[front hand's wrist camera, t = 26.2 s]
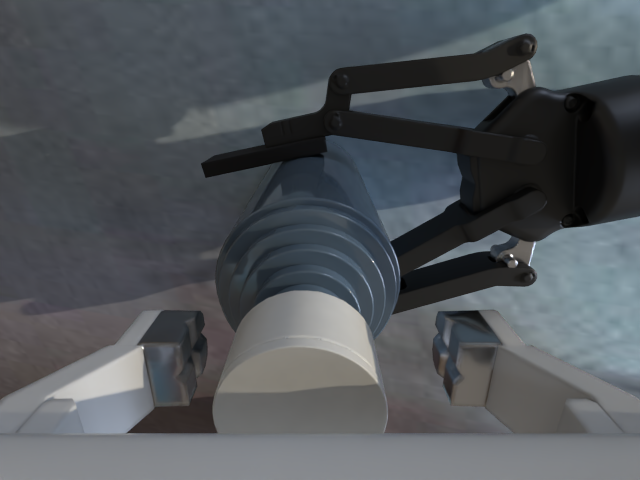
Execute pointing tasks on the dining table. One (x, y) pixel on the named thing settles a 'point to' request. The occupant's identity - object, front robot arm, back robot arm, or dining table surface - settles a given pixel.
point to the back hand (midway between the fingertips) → (230, 228)
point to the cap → (301, 370)
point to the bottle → (310, 241)
